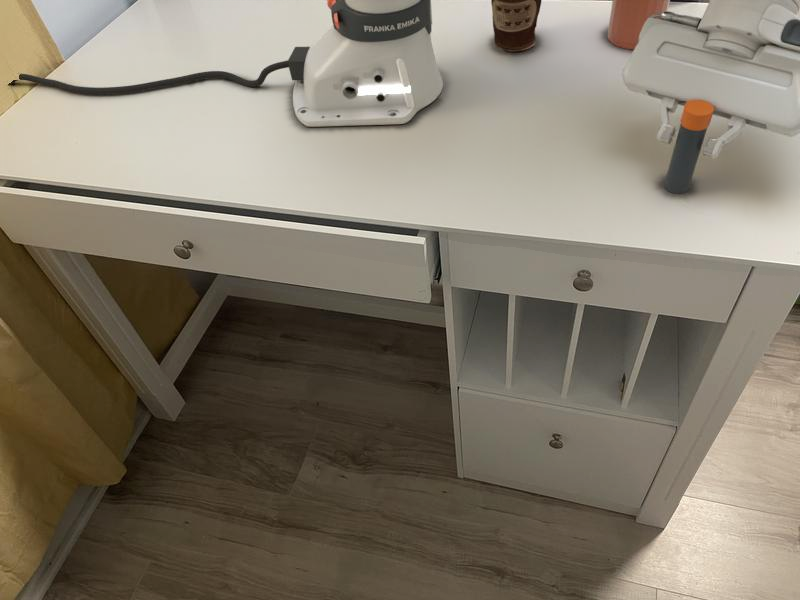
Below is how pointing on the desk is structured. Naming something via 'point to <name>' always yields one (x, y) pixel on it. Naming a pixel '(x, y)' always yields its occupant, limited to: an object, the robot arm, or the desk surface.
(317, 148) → the desk surface
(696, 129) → the marker
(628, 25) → the pen cup
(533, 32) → the coffee cup
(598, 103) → the desk surface
